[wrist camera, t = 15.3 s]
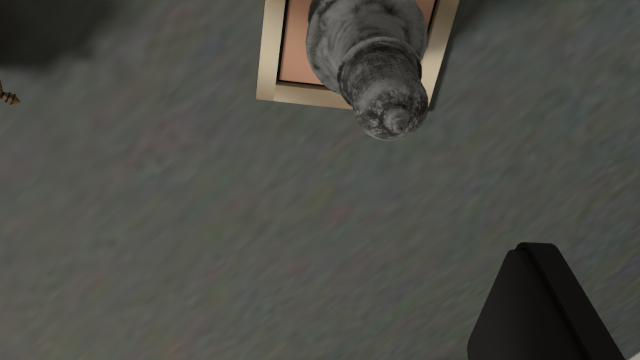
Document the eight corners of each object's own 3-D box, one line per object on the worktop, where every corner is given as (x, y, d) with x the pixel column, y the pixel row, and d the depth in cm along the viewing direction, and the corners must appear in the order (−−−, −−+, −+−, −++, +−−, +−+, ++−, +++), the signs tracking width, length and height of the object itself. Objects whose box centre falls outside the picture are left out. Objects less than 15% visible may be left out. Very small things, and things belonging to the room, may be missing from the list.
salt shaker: (302, -40, 28) (320, 51, 18) (419, -38, 28) (499, 52, 18) (301, 70, 31) (315, 199, 21) (405, 70, 32) (466, 196, 22)
